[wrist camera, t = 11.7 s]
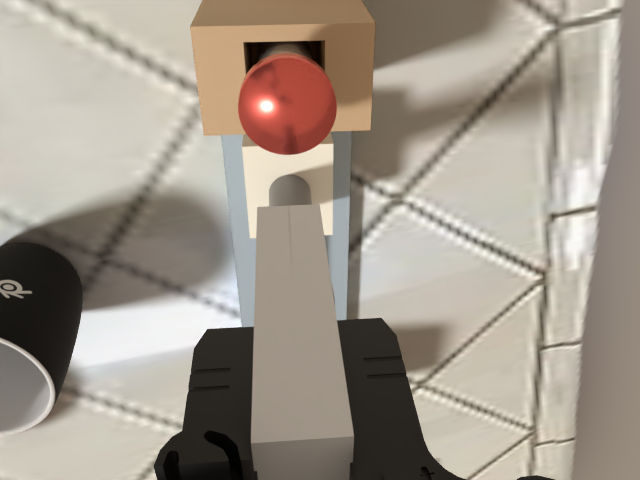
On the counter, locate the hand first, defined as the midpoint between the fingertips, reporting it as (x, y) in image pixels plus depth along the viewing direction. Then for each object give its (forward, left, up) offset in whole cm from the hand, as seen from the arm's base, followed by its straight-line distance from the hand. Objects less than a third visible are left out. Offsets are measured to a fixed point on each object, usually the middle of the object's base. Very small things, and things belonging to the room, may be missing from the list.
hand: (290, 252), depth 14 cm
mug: (+17, -20, -22) cm, 34 cm away
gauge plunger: (0, 0, -19) cm, 19 cm away
